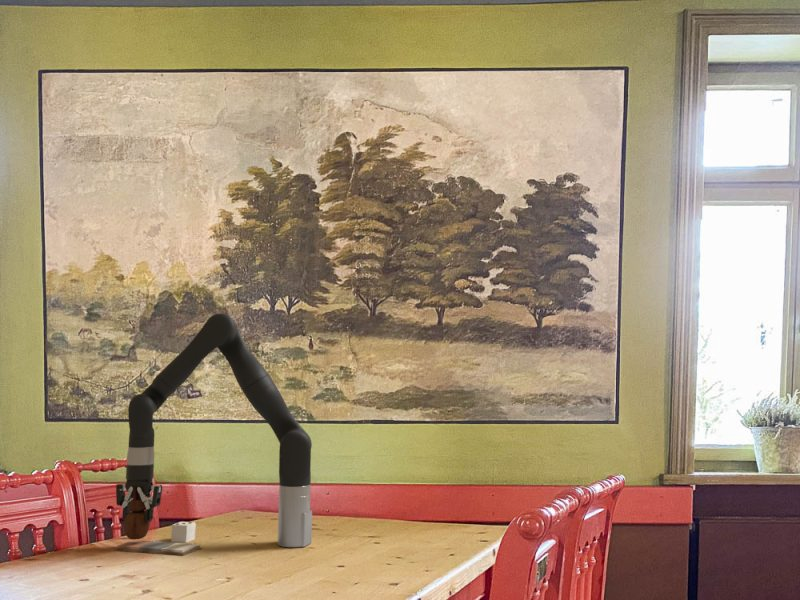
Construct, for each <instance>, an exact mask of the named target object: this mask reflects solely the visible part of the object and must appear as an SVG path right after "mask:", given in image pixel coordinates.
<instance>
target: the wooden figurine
mask: <svg viewBox="0 0 800 600" xmlns="http://www.w3.org/2000/svg"><path fill="white" fill-rule="evenodd" d="M129 509H130V511H131V512H130V513H128V515H127V516H126V518H125V521H123V523H124V524H123V525H124V533H125V535H126V537H127V538H128V539H130V540H142V539H143V538H145V537H146V536H147V534H148V533H149V529H150V525H151V522H148V523H146V522H145V510H146V507H145V504H144V503H143V502H142V499H138V498H137V491H136V486H134V497H133V499H132V500H131V501H130V503H129Z"/></svg>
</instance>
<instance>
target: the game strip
mask: <svg viewBox="0 0 800 600" xmlns="http://www.w3.org/2000/svg"><path fill="white" fill-rule="evenodd" d="M199 549H201V545H198V544H197V543H190V542H187V543H181V542H171V541H170V542H168V541H160V540H159V541H157V540H156V541H154V540H144V539H143V540H142V539H131V540H129V541H127V542H124V543H120V544H118V545H117V546H116V547H114V548H113V551H115V552H129V553H130V552H131V553H142V554H144V553H145V554H156V555H157V554H158V555H170V556H171V555H173V556H182V557H183V556H185V555H188V554H191V553H192V552H195V551H197V550H199Z"/></svg>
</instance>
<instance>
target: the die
mask: <svg viewBox="0 0 800 600" xmlns="http://www.w3.org/2000/svg"><path fill="white" fill-rule="evenodd" d="M194 540H196V522H194V521H193V522H191V521H178V522H176V523H174V524H173V523H172V524H171V537H170V542H174V543H190V542H192V541H194Z"/></svg>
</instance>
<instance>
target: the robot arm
mask: <svg viewBox="0 0 800 600" xmlns="http://www.w3.org/2000/svg"><path fill="white" fill-rule="evenodd" d="M216 349H218V350H219V352H220V353H221V354H222V355H223V356H224V358H225V359H226V361H227V363H228V364H229V366H230V369H231V370H232V373H233V375H234V377H235V380H236V382H237V384H238V385H239V387H240V389H241V391H242V392H243V394H244V396H245V398H246V399H247V400H248V402H249V404H250V405H251V406H252V407H253V408H254V410H255V411H256V412H257V413H258V414H259V415H260V416H261V417H262V418H263V420H265V422H266V423H267V424H268V425H269V427H270V428H271V430H272V431H273V433H274V435H275V437H276V439H277V441H278V442H279V450H278V451H279V453H278V455H279V456H278V457H279V458H278V459H279V460H278V461H279V463H278V467H279V468H278V476H279V477H278V479H279V486H278V488H279V489H278V490H279V491H278V495H279V496H278V515H277V516H278V520H277V521H278V522H277V523H278V524H277V546H279V547H284V548H305V547H307V546H308V545H309V544H311V543H312V539H313V538H312V536H313V535H312V534H313V533H312V532H313V510H312V509H311V478H312V476H311V475H312V474H311V464H312V463H311V461H312V459H311V458H312V448H313V447H312V446H313V445H312V444H313V443H312V440H311V437H310V435H309V434H308V432H306V430H305V429H304V428H303V427H302V426H301V425H300V423H299V422H298V421H297V420H296V418H295V417H294V416H293V415H292V412H291V411H290V409H289V407H288V405H287V404H286V402H285V399H284V398H283V396H282V393H281V392H280V390H279V389H278V387H277V385H276V383H275V382H274V380H273V379H272V377H271V376H270V375H269V373H268V371H267V370H266V369H265V367H264V366H263V365H262V363H261V362H260V361H259V360H258V358H256V357H255V355H254V354H253V353H252V352H251V351H250V349H249V347H248V345H247V343H246V342H245V341H244V338H243V336H242V335H241V332H240V330H239V328H238V326H237V324H236V322H235V320H234V319H233V318H232V317H231V316H229V315H228V314H226V313H216V314H213V315H211V316H210V317H209V318H208V319H207V320H206V322H205V323H204V325H203V326H202V327H201V328H200V330H199V331H198V333H197V334H196V335H195V337H194V338H193V339H192V340H191V341H190V342H189V343H188V344H187V346H186V347H185V348H184V349H183V350H182V351H181V352H179V354H178V355H177V356H175V358H174V359H173V360H171V361H170V363H168V364H167V365H166V366H165V367H164V368H163V370H161V371H160V372H159V373H158V374H157V375H156V376H155V377H154V378H153V380H152V382H151V384H150V385H148V387H147V388H145V390H143V392H141V393H139V394H136V395H134V396H133V397H132V398H131V399H130V401H129V404H128V410H127V412H128V415H127V416H128V427H129V433H128V434H129V435H128V447H127V449H128V450H127V454H126V465H125V466H126V468H125V469H126V470H125V480H126V482H125V483H119V484H116V486H115V487H116V488H115V492H116V493H115V495H116V500H115V501H116V506H120V507H121V508H122V520H123V522H125V518H126V516H127V515H128V513H130V512H132V511H130V509H129V503H130V501H131V500H132V499H133V497H134V486H136V491H137V498H138V499H142V502H143V503H144V504H145V507H146V509H145V510H144V511H145V522H146V523H148V522H150V523H151V522H152V520H153V519H154V509H155V508H157V507H160V505H161V499H162V493H163V492H162V491H163V485H162V484H159V485H156V484H154V482H153V479H154V469H155V429H154V427H153V423H154V422H153V419H154V417H153V416H154V414H155V413H156V412H157V411H158V410H159V409H160V408H161V407H162V405H164V403H165V402H166V401H167V400H168V398H169V397H170V396H172V395H173V394H174V393H175V392H176V391H177V390H178V389H179V388H180V387H181V386H182V385H183V384H184V383H185V382H186V381H187V380H188V378H189V377H190V376H191V375H192V374H193V372H194V371H195V370H196V369H197V368H198V366H199V365H200V363H202V361H203V360H205V358H206V357H207V356H208V355H209V354H211V352H213V351H214V350H216ZM126 492H127V493H126ZM151 492H152V493H151Z"/></svg>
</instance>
